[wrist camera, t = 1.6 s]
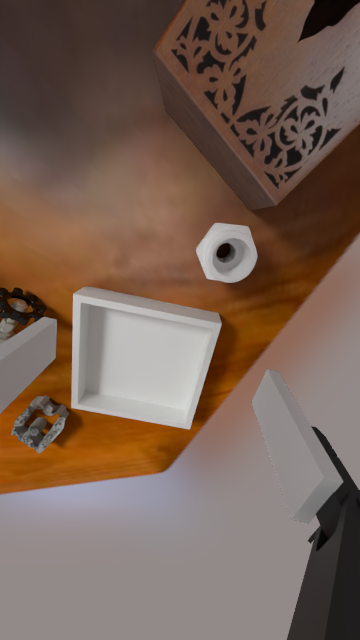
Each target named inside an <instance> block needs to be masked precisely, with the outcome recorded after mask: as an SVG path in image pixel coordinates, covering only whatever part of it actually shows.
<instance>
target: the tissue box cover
mask: <svg viewBox="0 0 360 640" xmlns="http://www.w3.org/2000/svg"><path fill="white" fill-rule="evenodd" d="M152 52H153V56H154V61H155V65H156V70H157V74H158V79H159V83H160V88H161V92H162V97H163V101H164V106H165V110H166V111H167V113H168V114H169V115H170V116H171V117H172V118H173V120H174V121H175V122H176V123H177V124H178V126H179V127H180V128H181V129H182V130H183V132H184V133H185V134H186V135H187V136H188V138H189V139H190V140H191V141H192V142H193V144H194V145H195V146H196V147H197V148H198V149H199V151H200V152H201V153H202V154H203V155H204V157H205V158H206V159H207V160H208V161H209V163H210V164H211V165H212V166H213V167H214V169H215V170H216V171H217V172H218V173H219V175H220V176H221V177H222V178H223V179H224V180H225V182H226V183H227V184H228V185H229V186H230V188H231V189H232V190H233V191H234V192H235V194H236V195H237V196H238V197H239V198H240V200H241V201H242V202H243V203H244V204H245V206H246V207H247V208H248V209H249V210H254V209H260V208H266V207H271V206H276V205H277V204H278V203H279V202H280V201H281V200H282V199H283V198H284V197H285V196H286V195H287V194H289V193H290V192H291V191H292V190H293V189H294V188H295V187H296V186H297V185H298V184H299V183H300V182H301V181H302V180H303V179H304V178H305V177H306V176H307V175H308V174H309V173H310V172H311V171H312V170H313V169H314V168H315V167H316V166H317V165H318V164H319V163H320V162H321V161H322V160H323V159H324V158H325V157H326V156H327V155H328V154H329V153H331V152H332V151H333V150H334V149H335V148H336V147H337V146H338V145H339V144H340V143H341V142H342V141H343V140H344V139H345V138H346V137H347V136H348V135H349V134H350V133H351V132H352V131H353V130H354V129H355V128H356V127H357V126H358V125H359V124H360V0H184V2H183V3H182V5H181V6H180V8H179V9H178V11H177V12H176V14H175V16H174V17H173V19H172V20H171V22H170V23H169V25H168V26H167V28H166V29H165V31H164V33H163V34H162V36H161V37H160V39H159V40H158V42H157V43H156V45H155V46H154V48H153V50H152Z"/></svg>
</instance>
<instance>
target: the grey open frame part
mask: <svg viewBox="0 0 360 640" xmlns="http://www.w3.org/2000/svg"><path fill="white" fill-rule="evenodd" d="M36 408H37V409H43V413H44V414H45V415H47V416H52V415H54V414H55V413H58V414H59V415H60V416H59V418H58V419H57V421H56V422H55V424H54V425H53V426H52V427H51V428H50V430H49V431H48V433H47V434H46V435H45V436H44V435H42V434H41V432H42V430H43V429H44V427H45V426H46V425H47V421H46V419H45V418H43V417H37V418H36V419H35V420H34V422H33V423H32V424H31V425H30V427H29V428H28V427H26V426H25V423H26V422H27V420H28V419H29V418H30V417H31V413H32V412H33V411H34V410H35V409H36ZM68 415H69V412H67V410H66V406H65V405H63V404H61V405H59V406H57V405H54V404H52V403H51V401H50V397H48V396H47V395H45V396H43V397H40V396H37V397H36V398H35V399H34V400H33V401H32V402H31V403H30V405H29V407H28V408H26V410H25V411H24V412H23V413H22V414H21V415H20V416H19V417H18V418H17V420H16V421H15V423H14V428H13V430H12V431H11V435H17V436H18V441H23V442H24V443H25V444H27V445H28V446H29V447H33V448H34V449H35V450H36V451H37V452H38V453H39V454H40V453H41V452H42V451H43V450H44V449H45V448H46V447H47V446H48V445H49V444H50V443H51V442H52V441H53V440H54V439H55V438H56V437H57V436H58V434H59V433H60V432H61V431H62V430H63V428H64V424H65V420H66V418H67V417H68Z"/></svg>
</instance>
